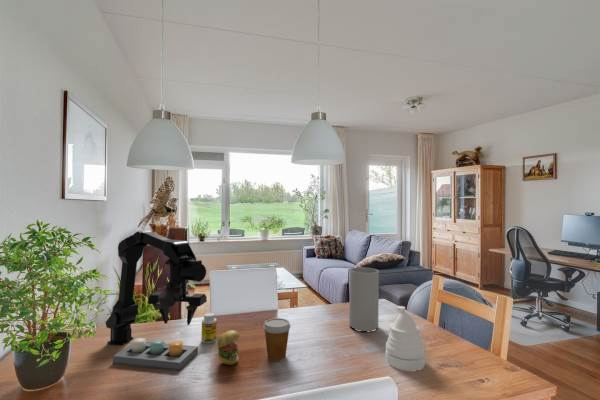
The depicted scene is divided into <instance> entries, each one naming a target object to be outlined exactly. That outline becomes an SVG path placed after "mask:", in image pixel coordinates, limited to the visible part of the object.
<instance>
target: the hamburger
mask: <svg viewBox="0 0 600 400" xmlns="http://www.w3.org/2000/svg"><path fill="white" fill-rule="evenodd" d="M222 328H223V330H224V331H223V333H222V334H221V335H220V336H219V337H218V339H217V341H216V342H217V343H216V344H217V350H218V352H217V353H218V357H219V360H220V362H222V363H223V364H225V365H228V366H229V365H230V366H231V365H235V364H236V363H238V361H239V355H238V352H239V349H238V347H239V344H237V342H238V339H239V337H240V333H239V331H237V330H235V329H231V330H230V329H229V330H227V331H225V328H226V326H222ZM235 341H236V342H235Z"/></svg>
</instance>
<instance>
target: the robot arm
mask: <svg viewBox="0 0 600 400" xmlns="http://www.w3.org/2000/svg"><path fill="white" fill-rule="evenodd" d="M147 246H150V247H153V248H155V249H157V250H160V251H161V252H162V255H164V256H165V257H166V258H167V260H166V261H165V262H164V265H168V282H166V285H165V289H164V290H163V291H156V292H153V293H151V294H149V296H148V298H147V303H148V305H152V307H155V308H157V309H158V310H159V312H160V314H161V318H162V320H163V323H164V324H165V325H166V324H168V322H169V321H168V320H169V313H170V307H171V308H172V307H173V306H175V304H176V303H181V302H182V303H188V305H187V306H186V307H185V308H186V311H187V313H186V315H187V316H186V325H187V326H190V325H191V322H192V320H193V317H194V315H195V313H196V311H197V309H198V307H202V305H204V304H205V303H207V302H208V301H207V298H208V297H207V295H206V294H205V293H194V294H192V295H189V291H187V290H188V287H187V284H188V283H189V282H190V281H191V282H198V283H201V282H202V281H203V280H204V279H205V278H206V276H207V269H206V266H205V265H204V264H202V263H203V261H202V260H200V259H199V260H197V257H196V255H195V254H194V251H193V249H192V247H191V246H190V243H189V241H187V240H180V239H170V238H167V237H165V236H163V235H160V234H158V233H155V232H153V231H152V230H149V229H145V230H143V229H142V230H138V231H136V232H135V233H134V234H132V235H129V236H128V237H125V238H124V239H122V240H121V241H119V243H118V245H117V255H118V258H119V259H120V262H121V272H120V281H119V283H120V284H119V291H118V293H119V294H118V300H117V301H116V302H115V304H114V305H113V307H112V310H111V311H112V312H111V314H110V316H109V317H108V318H107V319H106V320H105V325H106V326H105V327H106V329H110V340H108V341H107V342H106V343H107V344H108V345H116V346H122V345H124V344H126V343H128V342H130V341H132V340H134V336H132V331H133V330H132V324H135V322H136V318H137V315H138V314H139V312H138V311H139V304H138V303H136V301H135V299H134V296H135V295H134V294H135V286H136V285H135V284H136V276H137V275H136V274H137V265H138V262H139V260H140V259H141V258H142V256H143V253H144V250H145V248H147ZM188 295H189V296H188Z"/></svg>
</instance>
